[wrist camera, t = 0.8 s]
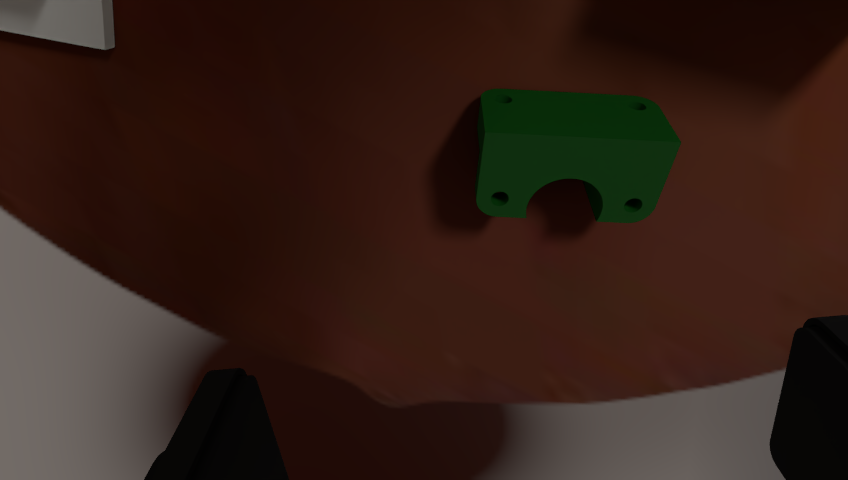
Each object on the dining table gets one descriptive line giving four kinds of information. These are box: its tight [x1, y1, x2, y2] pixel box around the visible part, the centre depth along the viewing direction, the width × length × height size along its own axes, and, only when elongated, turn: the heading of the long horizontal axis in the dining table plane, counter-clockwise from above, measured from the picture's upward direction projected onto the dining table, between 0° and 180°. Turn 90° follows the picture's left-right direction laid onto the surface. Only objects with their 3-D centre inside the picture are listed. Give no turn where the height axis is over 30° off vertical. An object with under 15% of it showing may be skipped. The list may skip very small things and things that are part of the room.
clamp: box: [475, 89, 681, 223], centre depth 35 cm, size 12×6×9 cm, turn 81°
